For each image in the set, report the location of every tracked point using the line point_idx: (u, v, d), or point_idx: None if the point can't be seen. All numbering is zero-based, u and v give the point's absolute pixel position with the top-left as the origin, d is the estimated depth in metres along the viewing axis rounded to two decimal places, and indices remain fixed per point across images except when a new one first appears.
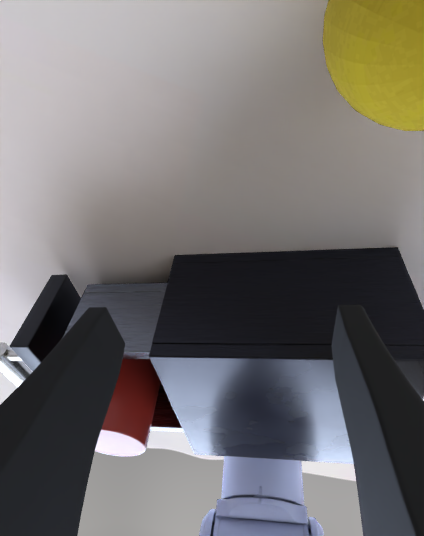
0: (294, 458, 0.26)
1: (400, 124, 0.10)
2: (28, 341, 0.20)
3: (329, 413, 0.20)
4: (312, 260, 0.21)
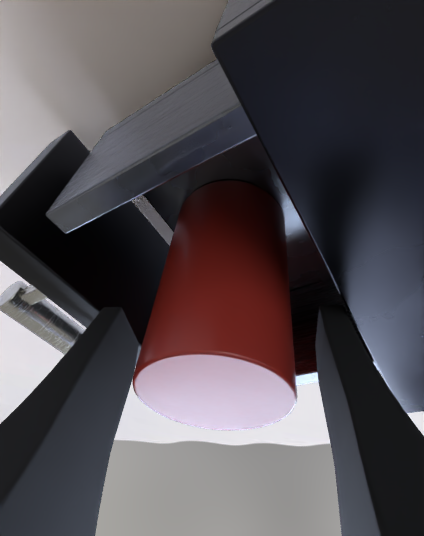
0: None
1: None
2: None
3: None
4: None
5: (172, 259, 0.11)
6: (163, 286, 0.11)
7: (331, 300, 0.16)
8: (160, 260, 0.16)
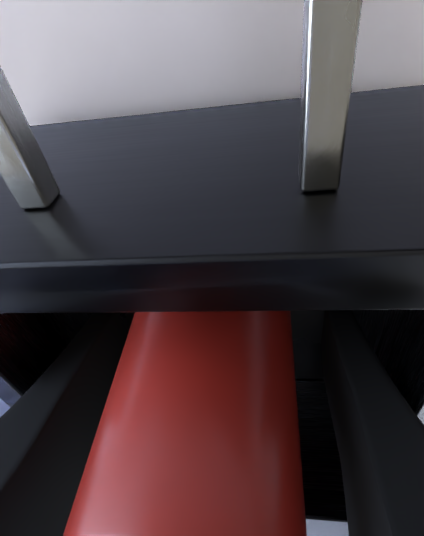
0: None
1: None
2: None
3: None
4: None
5: (291, 363, 0.08)
6: (292, 406, 0.07)
7: None
8: None
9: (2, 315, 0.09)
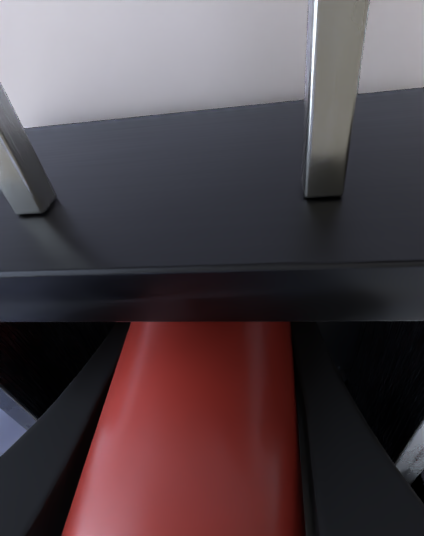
0: None
1: None
2: None
3: None
4: None
5: (291, 371, 0.08)
6: (292, 416, 0.07)
7: None
8: None
9: None
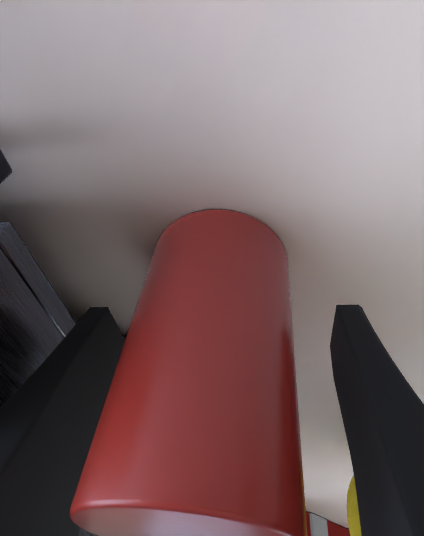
0: None
1: None
2: None
3: None
4: None
5: (290, 347, 0.09)
6: (291, 386, 0.08)
7: None
8: None
9: None
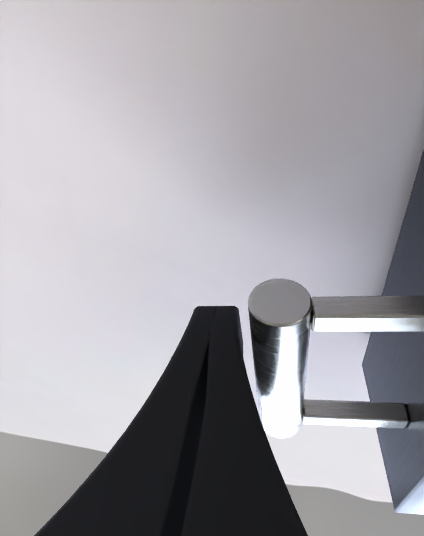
0: None
1: None
2: None
3: None
4: None
5: None
6: None
7: None
8: None
9: None
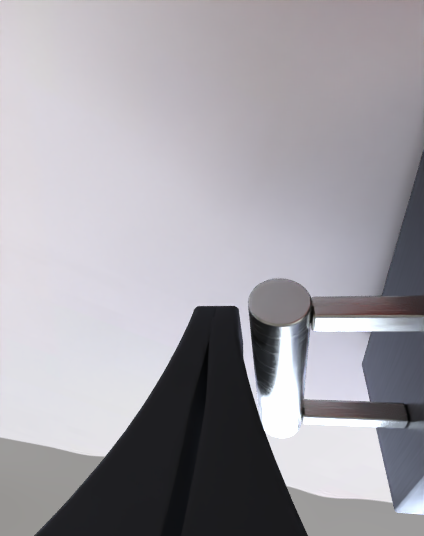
0: None
1: None
2: None
3: None
4: None
5: None
6: None
7: None
8: None
9: None
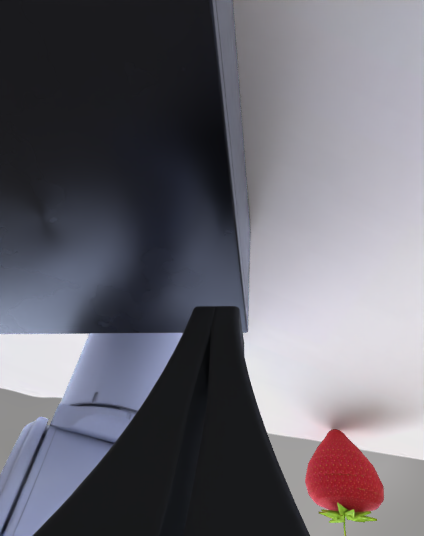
0: (116, 328, 0.17)
1: None
2: None
3: (94, 183, 0.11)
4: None
5: None
6: None
7: None
8: None
9: None
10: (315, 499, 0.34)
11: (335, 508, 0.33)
